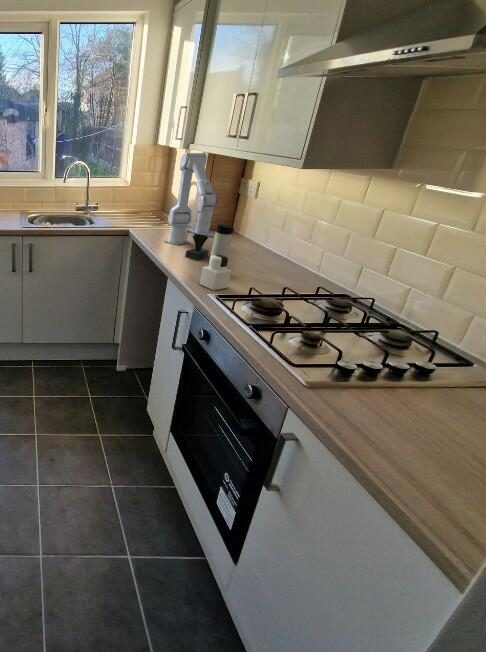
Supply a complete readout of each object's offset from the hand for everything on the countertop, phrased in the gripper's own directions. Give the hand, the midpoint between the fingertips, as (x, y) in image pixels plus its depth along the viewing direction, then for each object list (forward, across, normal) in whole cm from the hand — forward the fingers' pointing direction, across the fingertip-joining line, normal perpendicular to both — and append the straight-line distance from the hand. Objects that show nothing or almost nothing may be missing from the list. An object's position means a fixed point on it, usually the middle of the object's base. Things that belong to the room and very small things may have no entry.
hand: (197, 250), depth 190 cm
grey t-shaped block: (+3, 0, +2) cm, 4 cm away
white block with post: (+3, +24, -28) cm, 37 cm away
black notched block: (+3, 0, -2) cm, 4 cm away
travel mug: (+3, +16, -12) cm, 21 cm away
